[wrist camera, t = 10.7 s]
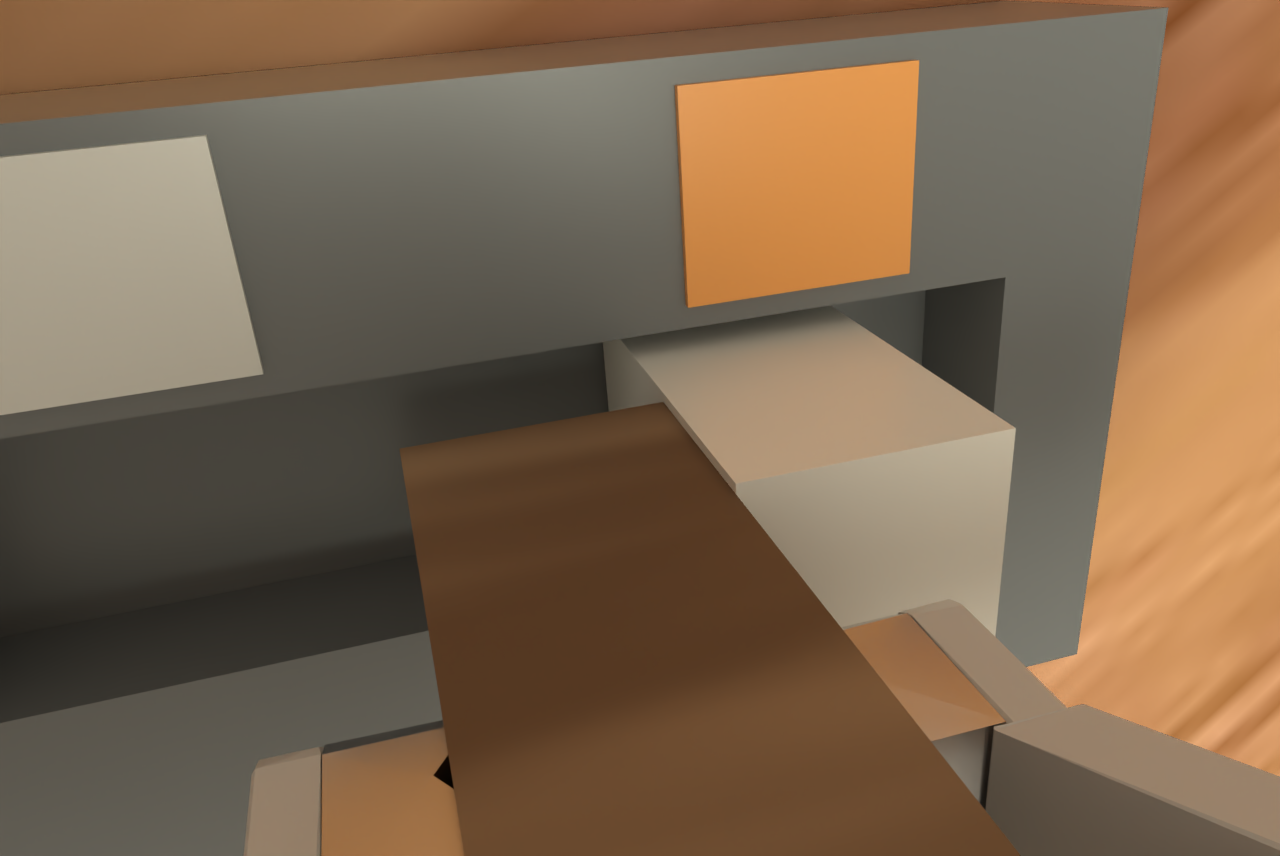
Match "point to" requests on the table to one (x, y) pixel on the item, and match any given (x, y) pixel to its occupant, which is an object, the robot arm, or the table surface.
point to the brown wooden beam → (653, 663)
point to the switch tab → (839, 455)
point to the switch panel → (489, 341)
